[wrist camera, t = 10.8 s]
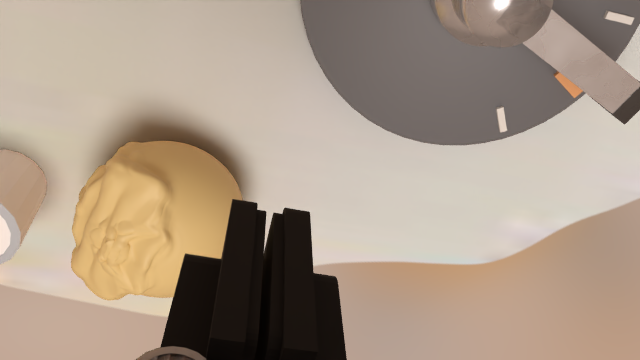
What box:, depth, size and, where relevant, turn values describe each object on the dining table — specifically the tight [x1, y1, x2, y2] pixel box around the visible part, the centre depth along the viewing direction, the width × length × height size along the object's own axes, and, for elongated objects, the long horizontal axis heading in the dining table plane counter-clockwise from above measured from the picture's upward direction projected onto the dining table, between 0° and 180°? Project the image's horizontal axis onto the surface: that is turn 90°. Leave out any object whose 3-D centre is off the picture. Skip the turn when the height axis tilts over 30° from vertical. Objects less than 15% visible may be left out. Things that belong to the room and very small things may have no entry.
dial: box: [429, 0, 640, 124], centre depth 37 cm, size 15×7×6 cm, turn 55°
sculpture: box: [71, 141, 243, 300], centre depth 42 cm, size 12×12×11 cm
